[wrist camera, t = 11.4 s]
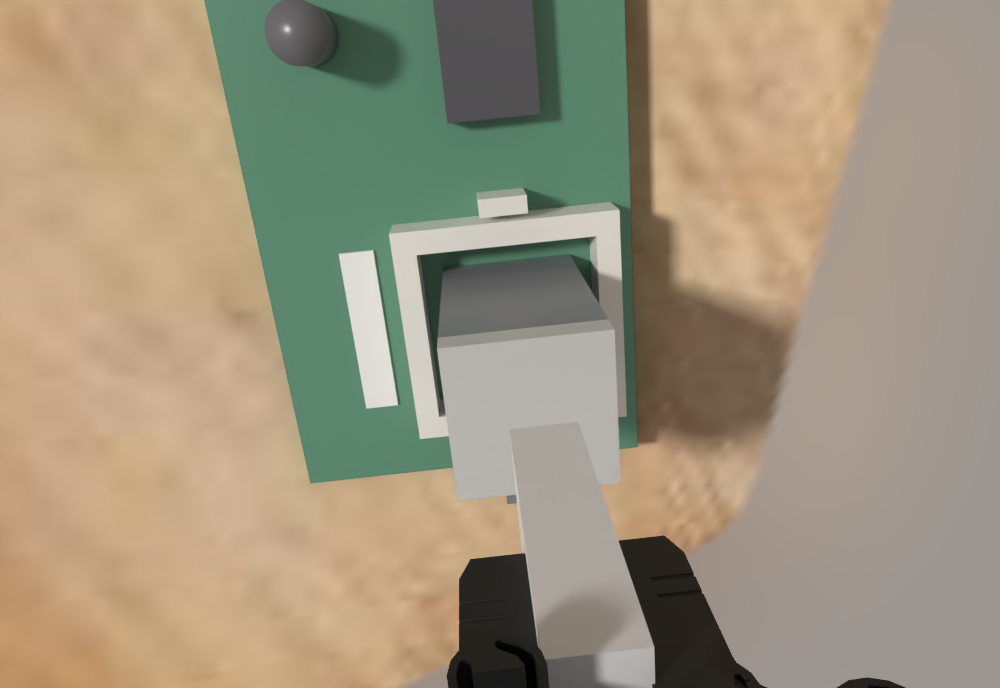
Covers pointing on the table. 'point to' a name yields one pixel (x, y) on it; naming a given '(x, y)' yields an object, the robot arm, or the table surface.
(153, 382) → the table surface
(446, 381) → the block
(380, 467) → the board
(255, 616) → the table surface
